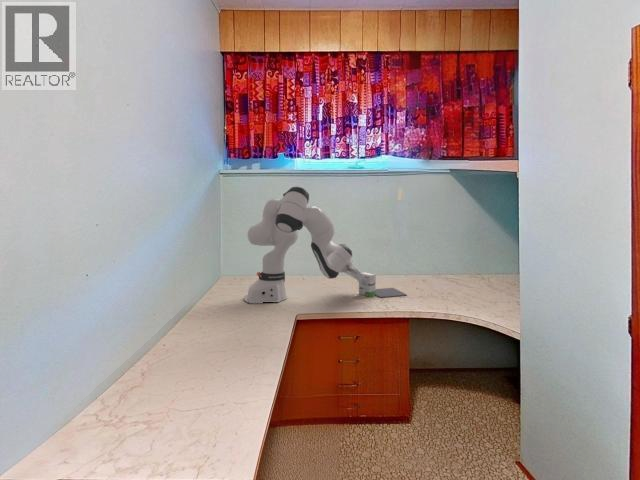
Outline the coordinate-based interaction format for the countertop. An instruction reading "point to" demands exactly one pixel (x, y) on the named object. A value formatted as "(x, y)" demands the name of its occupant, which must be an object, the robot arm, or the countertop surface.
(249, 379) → the countertop surface
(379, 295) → the mat
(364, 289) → the ink box
